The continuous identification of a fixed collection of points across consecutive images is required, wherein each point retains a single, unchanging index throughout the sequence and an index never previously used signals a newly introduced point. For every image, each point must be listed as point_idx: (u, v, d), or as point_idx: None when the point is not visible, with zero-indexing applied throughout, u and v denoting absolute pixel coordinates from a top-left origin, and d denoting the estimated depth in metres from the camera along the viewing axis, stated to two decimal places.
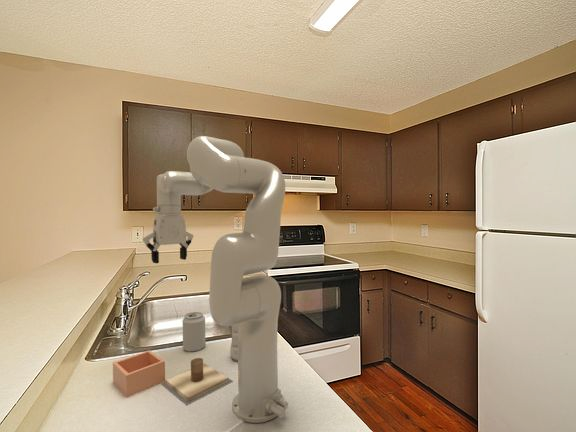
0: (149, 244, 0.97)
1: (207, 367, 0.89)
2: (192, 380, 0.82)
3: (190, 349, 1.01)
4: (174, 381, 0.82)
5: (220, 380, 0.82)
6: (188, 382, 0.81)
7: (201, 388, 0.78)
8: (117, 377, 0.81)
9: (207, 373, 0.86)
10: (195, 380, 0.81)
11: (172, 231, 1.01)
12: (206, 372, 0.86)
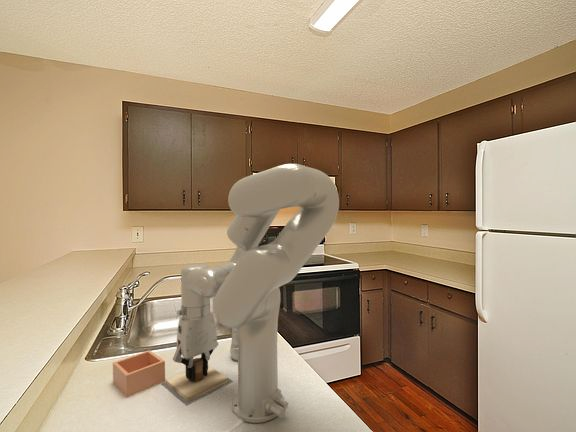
0: (184, 360, 0.79)
1: None
2: None
3: None
4: (174, 381, 0.82)
5: (220, 380, 0.82)
6: (188, 382, 0.81)
7: (201, 388, 0.78)
8: (117, 377, 0.81)
9: None
10: (195, 380, 0.81)
11: (201, 338, 0.81)
12: None
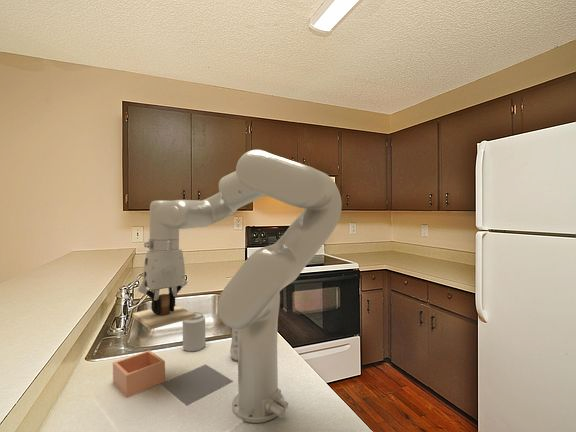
0: (149, 292, 0.80)
1: (176, 306, 0.90)
2: None
3: (190, 349, 1.01)
4: (140, 314, 0.82)
5: (186, 315, 0.83)
6: (154, 315, 0.82)
7: (165, 320, 0.79)
8: (117, 377, 0.81)
9: (175, 310, 0.86)
10: (161, 314, 0.82)
11: (168, 272, 0.81)
12: (174, 309, 0.87)
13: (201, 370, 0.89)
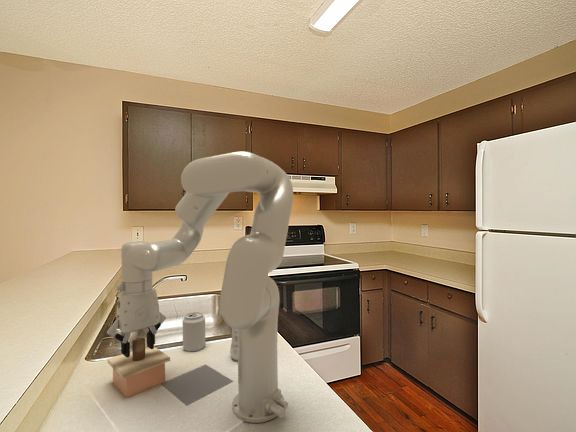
0: (117, 335, 0.79)
1: None
2: (133, 359, 0.82)
3: (190, 349, 1.01)
4: (115, 360, 0.82)
5: (161, 359, 0.83)
6: (129, 361, 0.82)
7: (139, 366, 0.79)
8: (117, 377, 0.81)
9: (151, 353, 0.86)
10: (136, 359, 0.82)
11: (141, 314, 0.81)
12: (150, 352, 0.87)
13: (201, 370, 0.89)
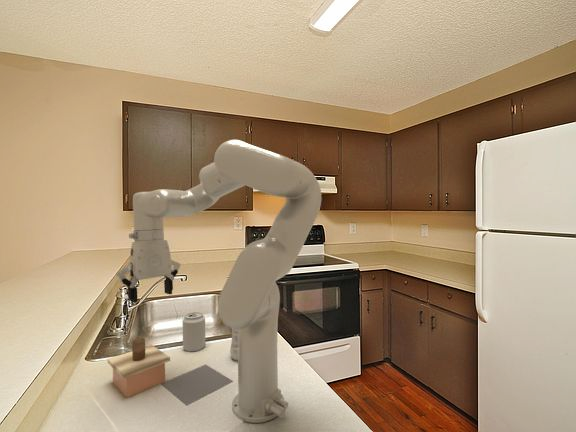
0: (125, 280, 0.79)
1: (153, 348, 0.90)
2: (133, 359, 0.82)
3: (190, 349, 1.01)
4: (115, 360, 0.82)
5: (161, 359, 0.83)
6: (129, 361, 0.82)
7: (139, 366, 0.79)
8: (117, 377, 0.81)
9: (151, 353, 0.86)
10: (136, 359, 0.82)
11: (154, 262, 0.82)
12: (150, 352, 0.87)
13: (201, 370, 0.89)
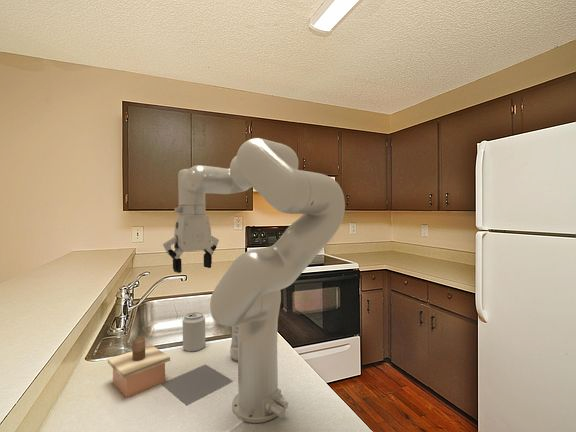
0: (171, 251, 0.83)
1: (153, 348, 0.90)
2: (133, 359, 0.82)
3: (190, 349, 1.01)
4: (115, 360, 0.82)
5: (161, 359, 0.83)
6: (129, 361, 0.82)
7: (139, 366, 0.79)
8: (117, 377, 0.81)
9: (151, 353, 0.86)
10: (136, 359, 0.82)
11: (197, 235, 0.87)
12: (150, 352, 0.87)
13: (201, 370, 0.89)
